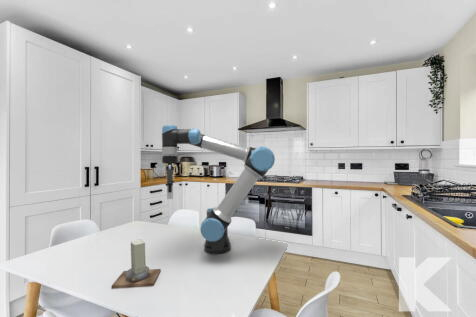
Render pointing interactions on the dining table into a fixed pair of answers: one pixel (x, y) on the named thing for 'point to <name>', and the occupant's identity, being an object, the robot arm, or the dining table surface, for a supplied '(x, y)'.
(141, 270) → the skincare box
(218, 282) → the dining table surface
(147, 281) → the bayonet base
